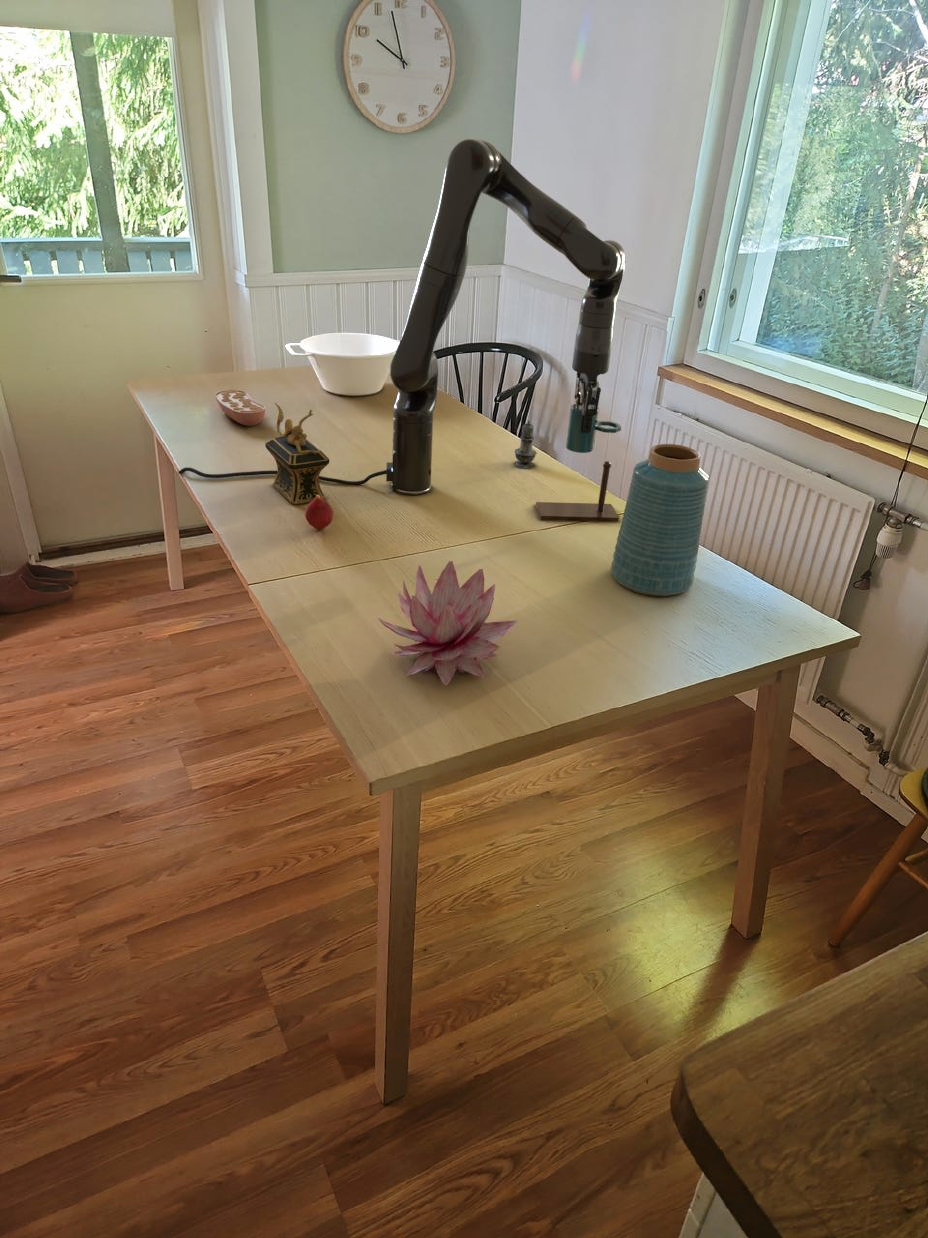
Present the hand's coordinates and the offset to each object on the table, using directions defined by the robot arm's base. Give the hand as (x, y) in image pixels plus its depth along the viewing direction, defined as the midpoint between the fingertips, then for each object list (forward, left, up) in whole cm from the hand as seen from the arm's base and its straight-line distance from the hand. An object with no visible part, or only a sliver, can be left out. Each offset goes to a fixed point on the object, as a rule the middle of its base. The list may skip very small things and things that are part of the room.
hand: (582, 426), depth 180 cm
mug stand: (+2, +3, -22) cm, 22 cm away
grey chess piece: (-6, +34, -22) cm, 41 cm away
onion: (-56, -9, -22) cm, 61 cm away
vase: (+11, -29, -22) cm, 38 cm away
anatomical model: (-84, +65, -22) cm, 109 cm away
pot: (-53, +100, -22) cm, 115 cm away
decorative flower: (-32, -59, -22) cm, 70 cm away
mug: (+3, 0, -5) cm, 5 cm away
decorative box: (-63, +13, -22) cm, 68 cm away
